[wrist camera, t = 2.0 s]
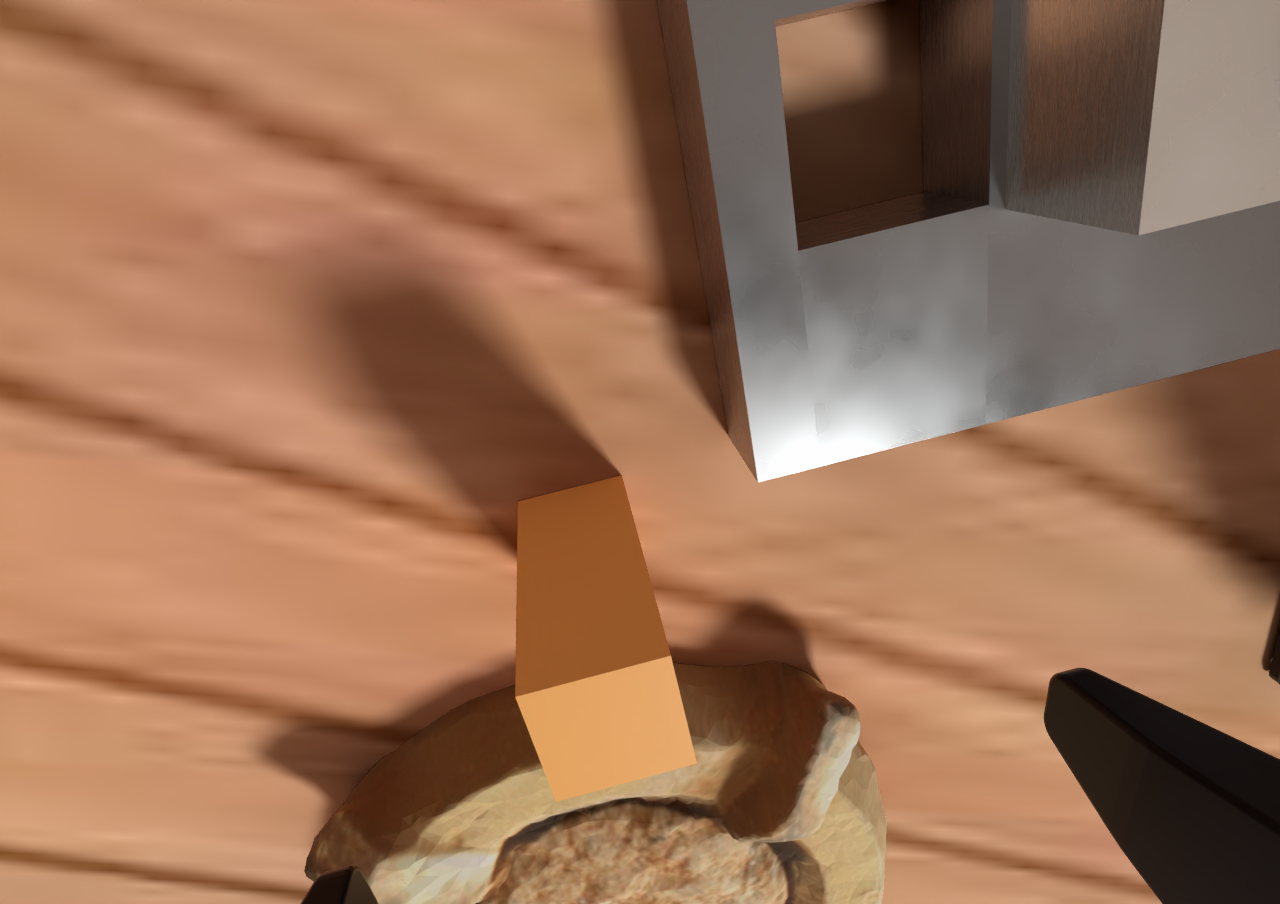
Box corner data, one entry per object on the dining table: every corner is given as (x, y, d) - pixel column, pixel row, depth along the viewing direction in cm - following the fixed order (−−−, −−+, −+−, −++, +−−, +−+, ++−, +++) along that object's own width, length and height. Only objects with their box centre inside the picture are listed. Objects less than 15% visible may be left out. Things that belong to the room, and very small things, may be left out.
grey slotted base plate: (1225, 310, 22) (1563, 404, 15) (728, 436, 21) (832, 598, 14) (1352, -422, 15) (2117, -919, 8) (612, -269, 14) (703, -658, 7)
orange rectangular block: (642, 560, 23) (697, 763, 16) (545, 585, 23) (555, 801, 16) (621, 475, 21) (670, 655, 14) (517, 501, 21) (515, 697, 14)
